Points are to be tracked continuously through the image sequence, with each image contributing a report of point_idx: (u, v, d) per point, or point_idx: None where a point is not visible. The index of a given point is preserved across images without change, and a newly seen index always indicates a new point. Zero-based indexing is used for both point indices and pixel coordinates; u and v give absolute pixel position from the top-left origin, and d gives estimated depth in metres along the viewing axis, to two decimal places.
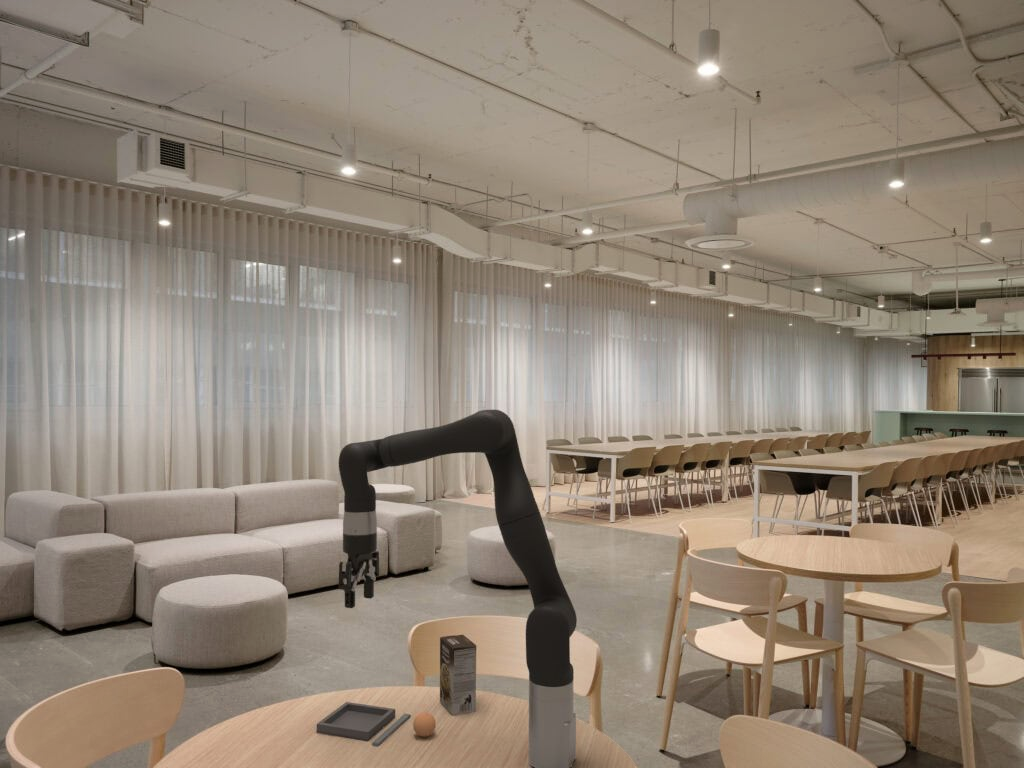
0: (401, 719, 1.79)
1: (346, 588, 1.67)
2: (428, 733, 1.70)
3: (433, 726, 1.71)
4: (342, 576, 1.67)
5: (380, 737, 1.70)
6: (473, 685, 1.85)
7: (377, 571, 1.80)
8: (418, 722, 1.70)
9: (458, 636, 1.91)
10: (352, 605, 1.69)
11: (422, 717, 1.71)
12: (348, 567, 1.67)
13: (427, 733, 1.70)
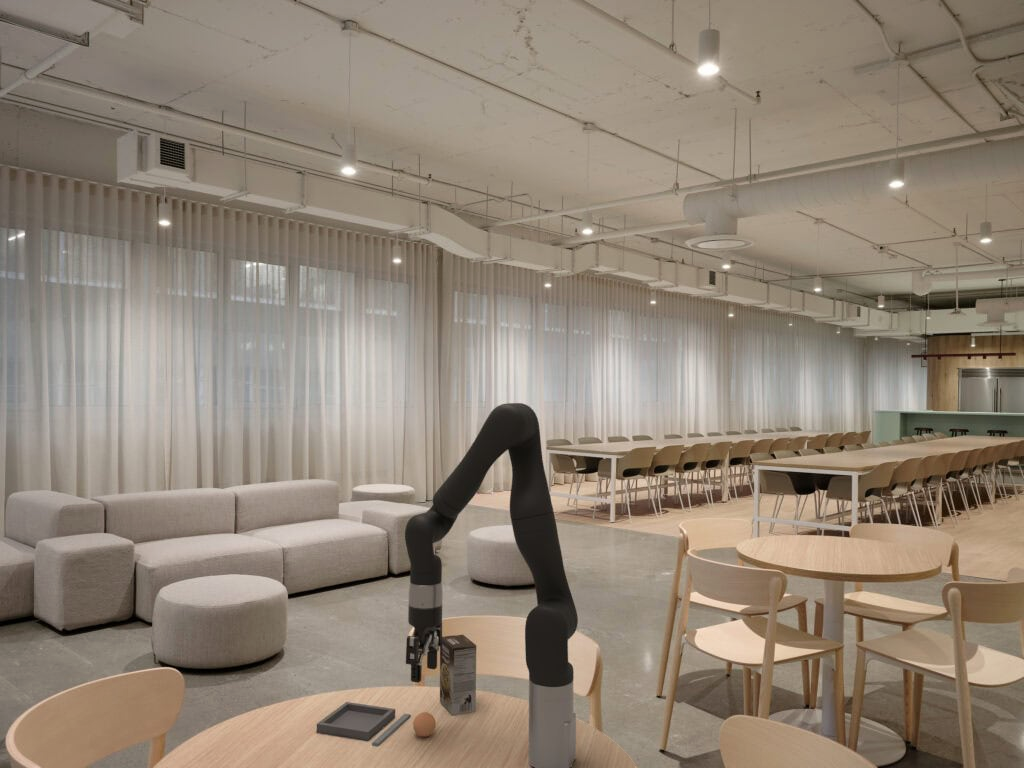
0: (401, 719, 1.79)
1: (414, 663, 1.65)
2: (428, 733, 1.70)
3: (433, 726, 1.71)
4: (410, 651, 1.66)
5: (380, 737, 1.70)
6: (473, 685, 1.85)
7: (440, 641, 1.78)
8: (418, 722, 1.70)
9: (458, 636, 1.91)
10: (419, 679, 1.67)
11: (422, 717, 1.71)
12: (416, 642, 1.65)
13: (427, 733, 1.70)
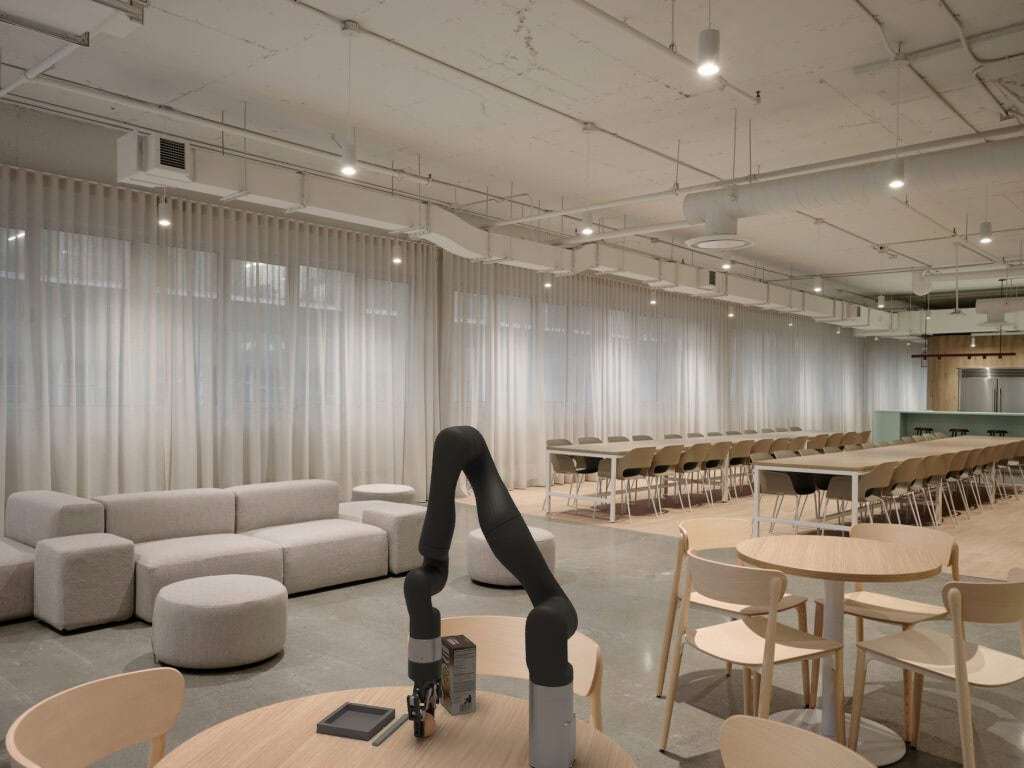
0: (401, 719, 1.79)
1: (416, 720, 1.67)
2: (428, 733, 1.70)
3: (433, 726, 1.71)
4: (411, 710, 1.66)
5: (380, 737, 1.70)
6: (473, 685, 1.85)
7: (438, 698, 1.76)
8: None
9: (458, 636, 1.91)
10: (422, 735, 1.69)
11: None
12: (416, 702, 1.66)
13: (427, 733, 1.70)
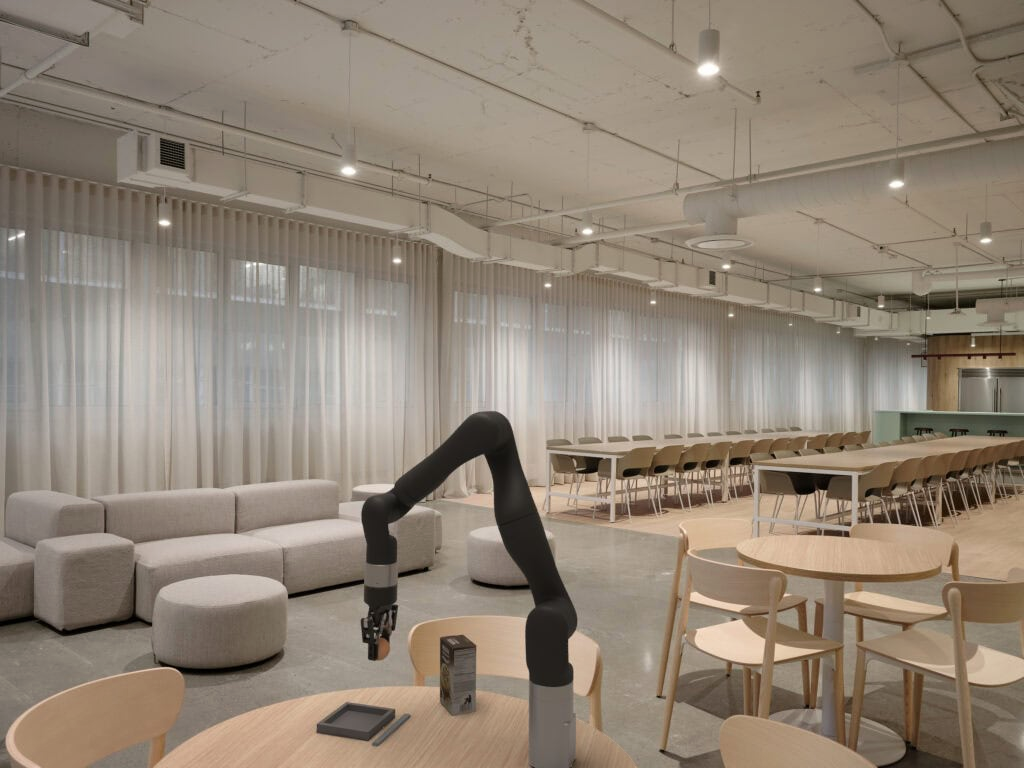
0: (401, 719, 1.79)
1: (370, 642, 1.70)
2: (382, 657, 1.74)
3: (387, 650, 1.75)
4: (365, 632, 1.70)
5: (380, 737, 1.70)
6: (473, 685, 1.85)
7: (394, 625, 1.80)
8: None
9: (458, 636, 1.91)
10: (375, 658, 1.73)
11: None
12: (370, 624, 1.69)
13: (381, 657, 1.74)
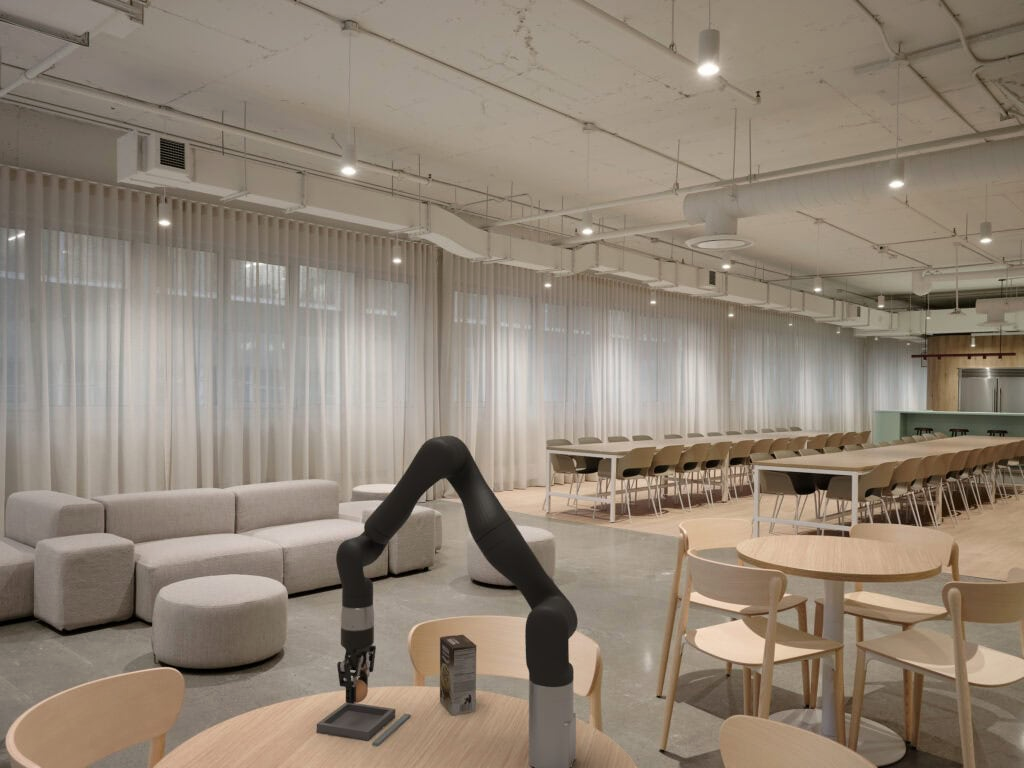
0: (401, 719, 1.79)
1: (347, 685, 1.72)
2: (359, 699, 1.75)
3: (364, 692, 1.76)
4: (342, 676, 1.72)
5: (380, 737, 1.70)
6: (473, 685, 1.85)
7: (371, 666, 1.82)
8: None
9: (458, 636, 1.91)
10: (353, 701, 1.74)
11: None
12: (346, 668, 1.71)
13: (358, 699, 1.75)
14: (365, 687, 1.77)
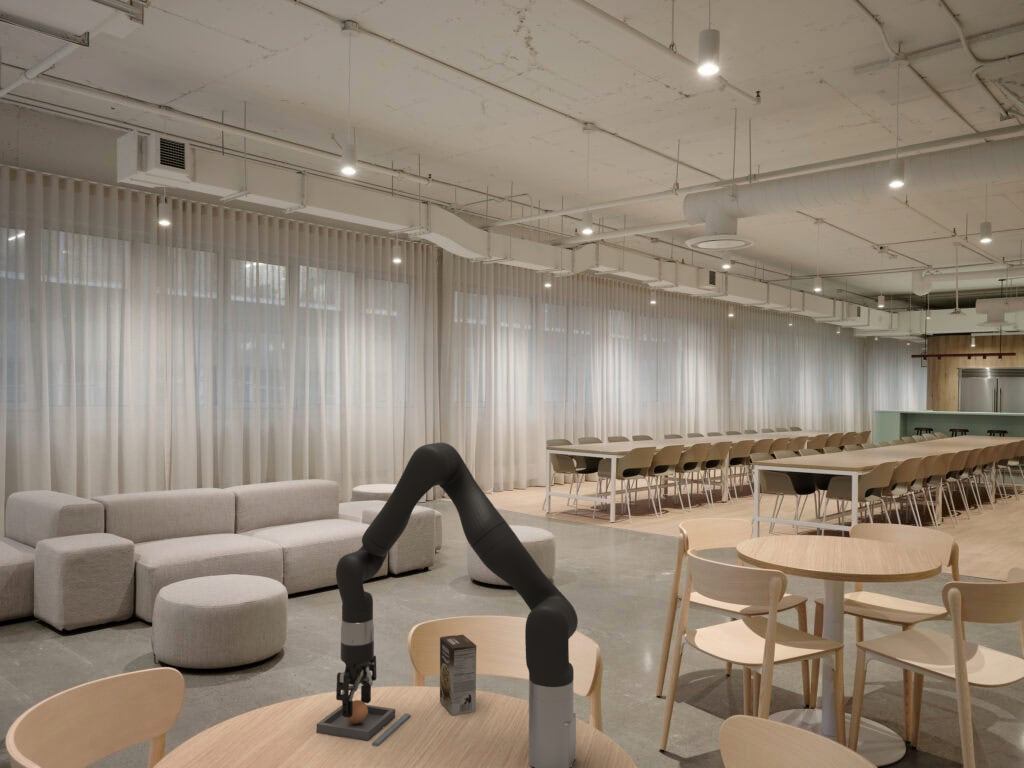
0: (401, 719, 1.79)
1: (344, 699, 1.70)
2: (359, 720, 1.75)
3: (364, 713, 1.76)
4: (340, 687, 1.71)
5: (380, 737, 1.70)
6: (473, 685, 1.85)
7: (374, 675, 1.83)
8: None
9: (458, 636, 1.91)
10: (349, 715, 1.73)
11: (354, 705, 1.76)
12: (346, 679, 1.71)
13: (358, 720, 1.75)
14: (365, 708, 1.77)
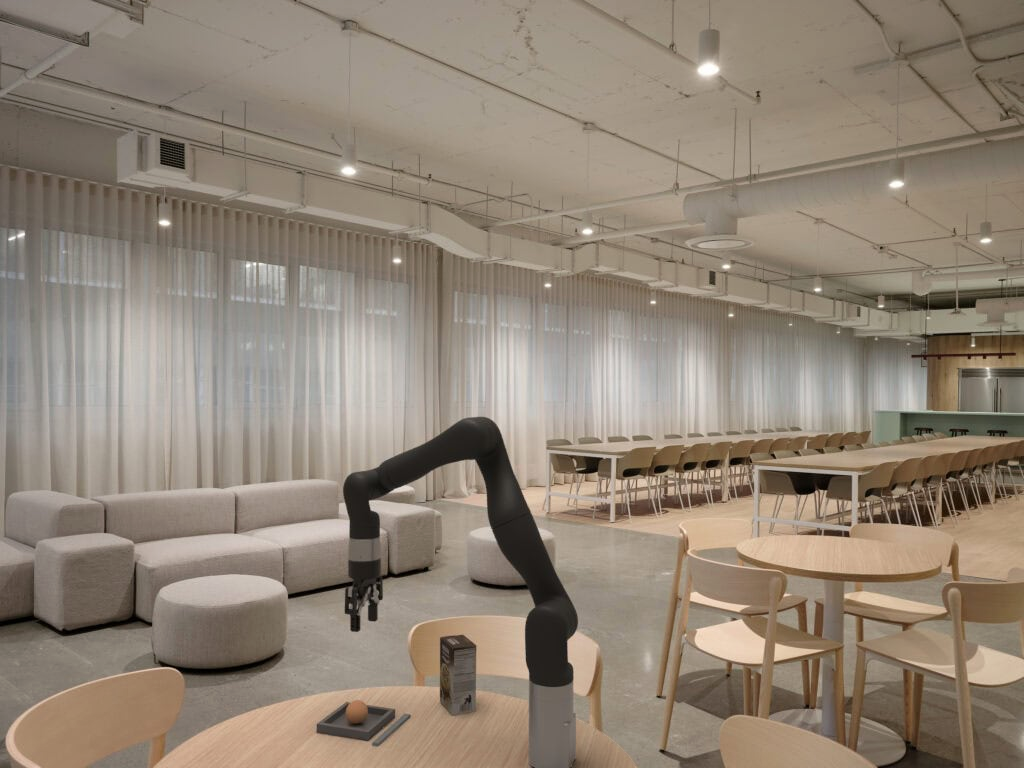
0: (401, 719, 1.79)
1: (352, 613, 1.73)
2: (359, 720, 1.75)
3: (365, 713, 1.76)
4: (348, 601, 1.74)
5: (380, 737, 1.70)
6: (473, 685, 1.85)
7: (381, 595, 1.86)
8: (350, 709, 1.75)
9: (458, 636, 1.91)
10: (357, 629, 1.75)
11: (354, 705, 1.76)
12: (354, 593, 1.73)
13: (358, 720, 1.75)
14: (365, 708, 1.77)
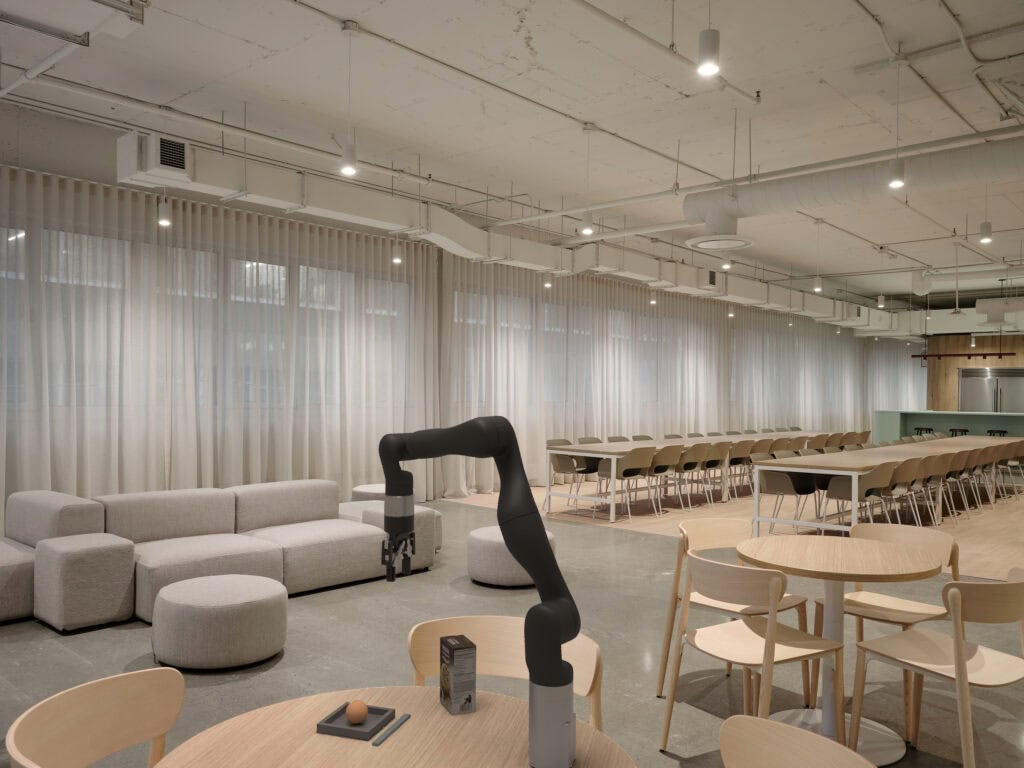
0: (401, 719, 1.79)
1: (388, 564, 1.86)
2: (359, 720, 1.75)
3: (365, 713, 1.76)
4: (384, 553, 1.87)
5: (380, 737, 1.70)
6: (473, 685, 1.85)
7: (413, 550, 1.99)
8: (350, 709, 1.75)
9: (458, 636, 1.91)
10: (393, 579, 1.88)
11: (354, 705, 1.76)
12: (390, 545, 1.86)
13: (358, 720, 1.75)
14: (365, 708, 1.77)
